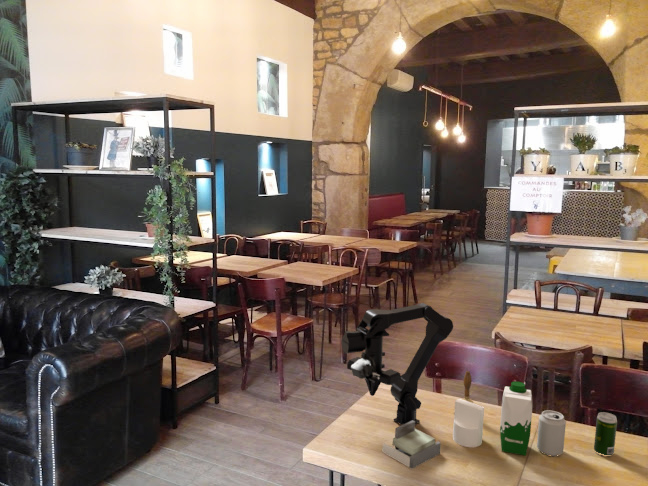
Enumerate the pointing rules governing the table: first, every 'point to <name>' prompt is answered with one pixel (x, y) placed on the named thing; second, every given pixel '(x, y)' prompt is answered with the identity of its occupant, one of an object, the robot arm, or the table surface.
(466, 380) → the hand bell
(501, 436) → the milk carton
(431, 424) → the table surface
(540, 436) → the can
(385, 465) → the table surface
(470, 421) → the cylinder with rectangular tab
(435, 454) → the tray
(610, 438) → the beer can
